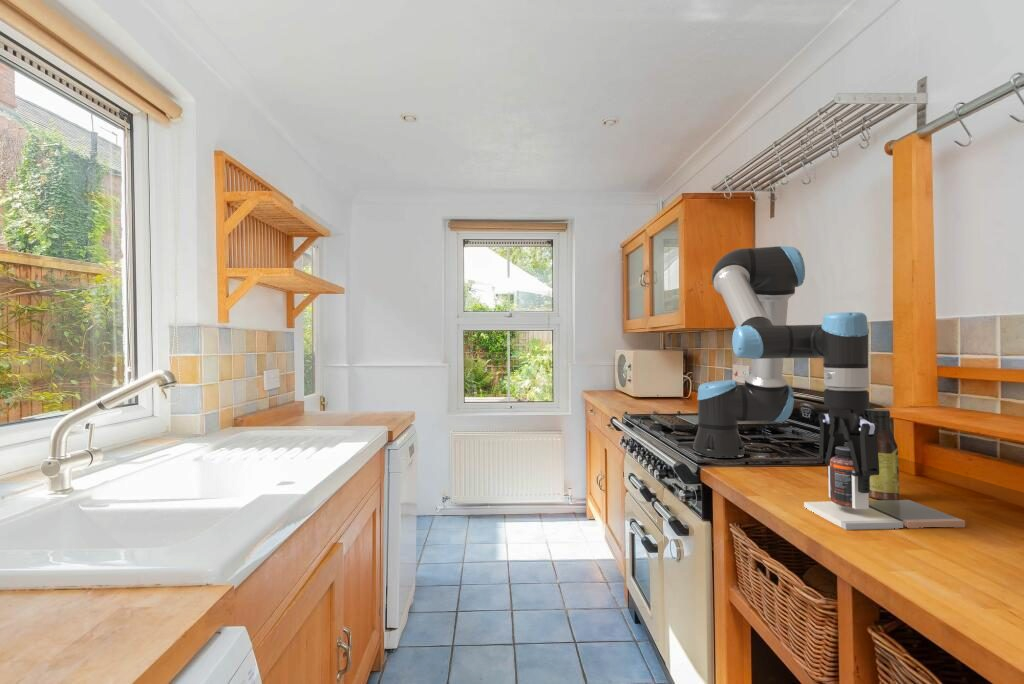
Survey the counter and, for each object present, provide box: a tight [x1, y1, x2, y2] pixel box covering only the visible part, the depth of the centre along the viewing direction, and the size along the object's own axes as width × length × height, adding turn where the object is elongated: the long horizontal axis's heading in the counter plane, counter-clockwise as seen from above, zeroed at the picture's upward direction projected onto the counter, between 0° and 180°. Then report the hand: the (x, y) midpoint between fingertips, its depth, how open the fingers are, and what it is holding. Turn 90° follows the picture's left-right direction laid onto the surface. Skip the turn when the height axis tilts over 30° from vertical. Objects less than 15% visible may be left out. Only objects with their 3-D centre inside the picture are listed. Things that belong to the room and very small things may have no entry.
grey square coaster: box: [869, 499, 966, 529], centre depth 95 cm, size 12×11×1 cm
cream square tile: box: [803, 500, 904, 531], centre depth 95 cm, size 12×11×1 cm
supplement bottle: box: [830, 446, 862, 507], centre depth 95 cm, size 6×6×11 cm
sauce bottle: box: [866, 408, 901, 500], centre depth 107 cm, size 6×6×20 cm
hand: (847, 502), depth 95 cm, fingers closed on supplement bottle, 6 cm apart
